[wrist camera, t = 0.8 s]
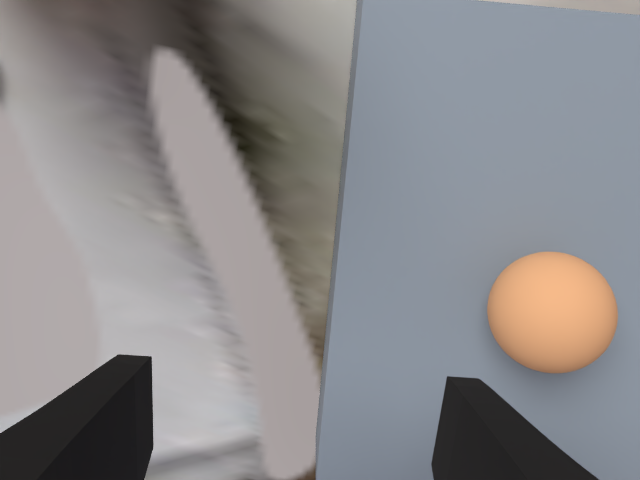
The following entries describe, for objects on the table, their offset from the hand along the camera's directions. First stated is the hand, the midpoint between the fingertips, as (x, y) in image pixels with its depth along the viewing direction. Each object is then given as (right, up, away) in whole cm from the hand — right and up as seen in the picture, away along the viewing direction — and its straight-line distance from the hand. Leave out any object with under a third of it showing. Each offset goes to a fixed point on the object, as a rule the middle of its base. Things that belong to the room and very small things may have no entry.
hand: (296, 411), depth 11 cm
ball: (+7, +2, +7) cm, 10 cm away
